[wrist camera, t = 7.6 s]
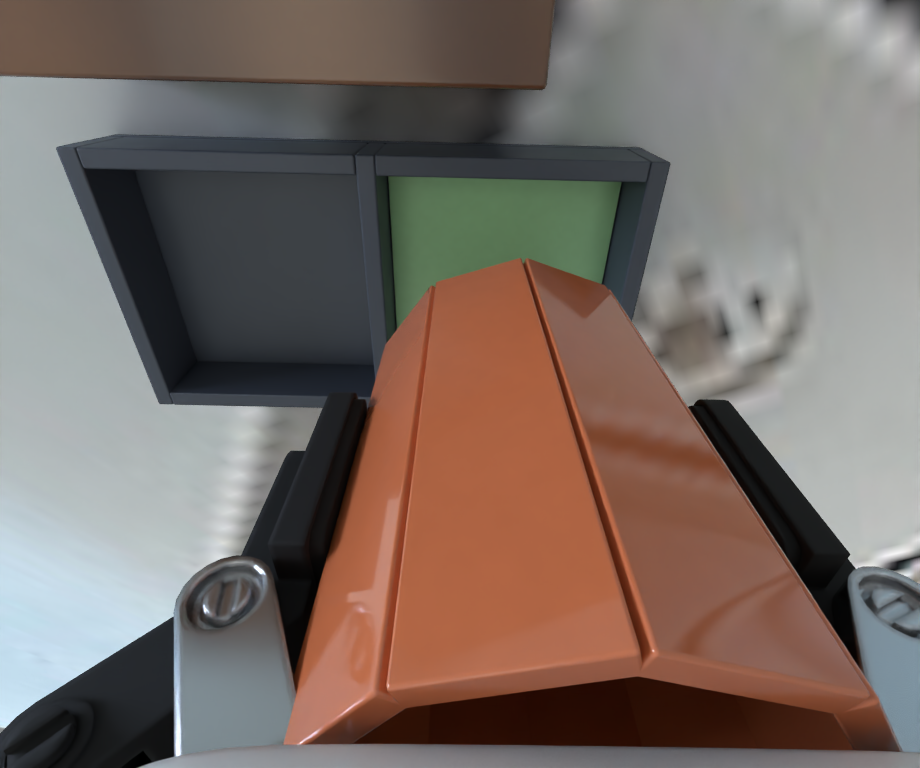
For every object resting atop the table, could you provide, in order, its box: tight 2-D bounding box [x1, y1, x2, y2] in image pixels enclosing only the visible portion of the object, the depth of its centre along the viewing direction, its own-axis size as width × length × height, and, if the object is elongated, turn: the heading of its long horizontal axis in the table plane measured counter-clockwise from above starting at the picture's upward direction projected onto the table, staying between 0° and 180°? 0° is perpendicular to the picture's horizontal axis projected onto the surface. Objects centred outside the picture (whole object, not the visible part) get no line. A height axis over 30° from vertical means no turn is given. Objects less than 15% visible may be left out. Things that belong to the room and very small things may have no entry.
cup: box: [283, 258, 903, 752], centre depth 9 cm, size 7×7×9 cm
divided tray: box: [56, 134, 670, 409], centre depth 18 cm, size 18×10×3 cm, turn 89°
